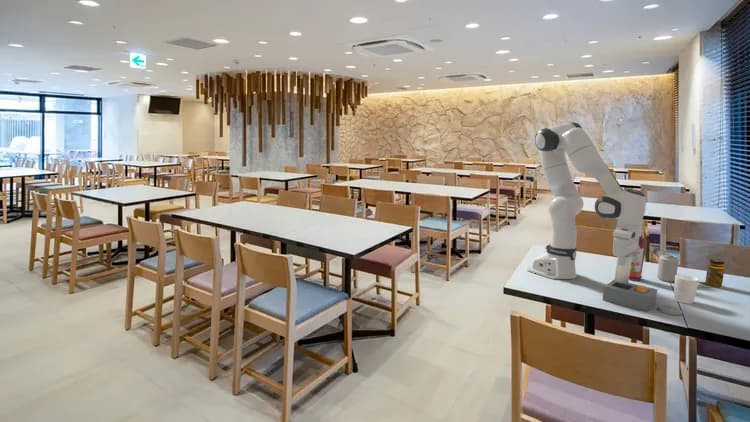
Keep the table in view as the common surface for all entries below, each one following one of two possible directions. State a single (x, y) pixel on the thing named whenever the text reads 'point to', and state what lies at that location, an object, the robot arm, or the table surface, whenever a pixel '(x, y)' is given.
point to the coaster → (670, 310)
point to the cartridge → (623, 270)
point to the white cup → (685, 288)
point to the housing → (629, 295)
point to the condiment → (714, 274)
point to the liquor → (638, 259)
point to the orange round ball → (642, 288)
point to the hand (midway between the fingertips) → (623, 263)
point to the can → (667, 267)
